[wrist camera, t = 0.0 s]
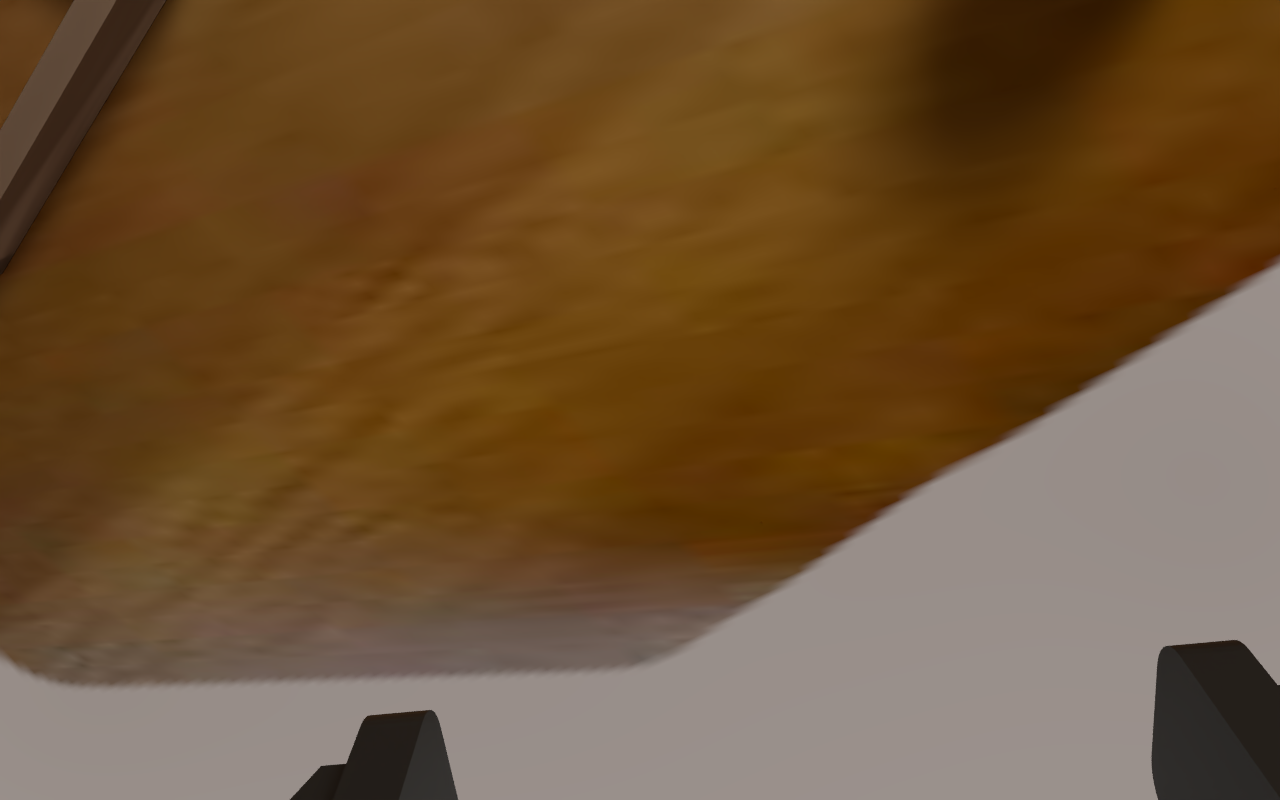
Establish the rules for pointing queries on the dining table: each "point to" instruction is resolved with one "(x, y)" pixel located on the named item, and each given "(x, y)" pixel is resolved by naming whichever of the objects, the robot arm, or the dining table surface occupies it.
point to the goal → (63, 105)
